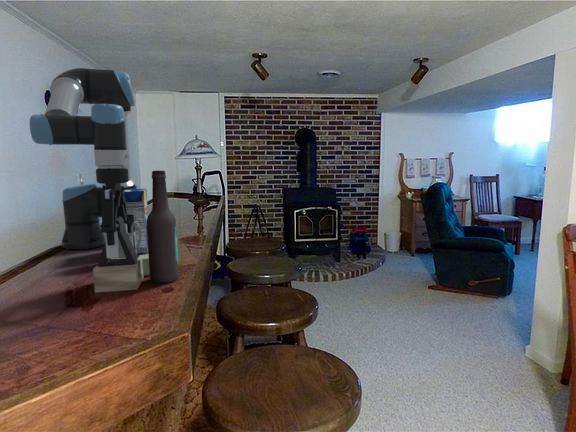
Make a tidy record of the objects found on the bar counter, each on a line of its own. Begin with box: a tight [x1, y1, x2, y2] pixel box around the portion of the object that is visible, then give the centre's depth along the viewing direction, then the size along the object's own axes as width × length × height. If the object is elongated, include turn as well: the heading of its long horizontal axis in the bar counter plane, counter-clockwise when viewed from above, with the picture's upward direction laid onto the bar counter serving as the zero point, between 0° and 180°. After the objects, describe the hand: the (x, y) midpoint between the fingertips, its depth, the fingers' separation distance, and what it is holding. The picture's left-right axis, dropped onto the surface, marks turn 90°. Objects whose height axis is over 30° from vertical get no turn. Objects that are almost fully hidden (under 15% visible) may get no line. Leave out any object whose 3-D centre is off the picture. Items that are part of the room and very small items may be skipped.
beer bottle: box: [147, 170, 179, 284], centre depth 104 cm, size 8×8×30 cm
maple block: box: [92, 256, 144, 293], centre depth 102 cm, size 10×10×6 cm
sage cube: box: [138, 253, 150, 277], centre depth 113 cm, size 5×5×5 cm
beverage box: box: [124, 188, 149, 255], centre depth 138 cm, size 7×11×22 cm, turn 16°
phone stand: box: [97, 216, 139, 267], centre depth 101 cm, size 9×6×12 cm, turn 103°
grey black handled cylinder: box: [110, 214, 141, 259], centre depth 122 cm, size 9×14×15 cm, turn 55°
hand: (118, 252), depth 101 cm, fingers open, 10 cm apart
